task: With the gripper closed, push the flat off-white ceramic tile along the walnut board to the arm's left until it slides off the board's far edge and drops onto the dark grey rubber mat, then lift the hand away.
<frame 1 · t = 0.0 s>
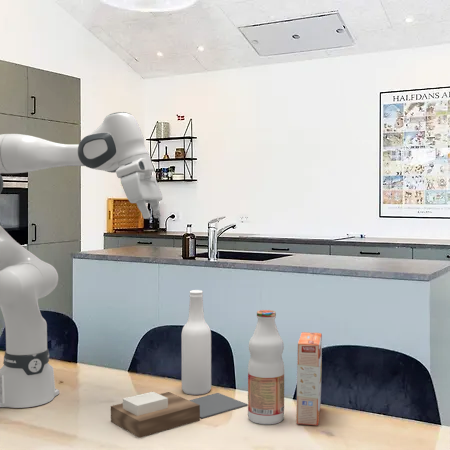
hand: (153, 217, 161), 52 cm above the table, tool tilted 20°, fingers open, 8 cm apart
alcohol: (196, 391, 177), on the table
board: (155, 420, 153), on the table
mat: (210, 405, 164), on the table
fruit juice: (266, 419, 154), on the table
tile: (145, 408, 151), point 4 cm above the table, touching board
cracker box: (309, 417, 156), on the table
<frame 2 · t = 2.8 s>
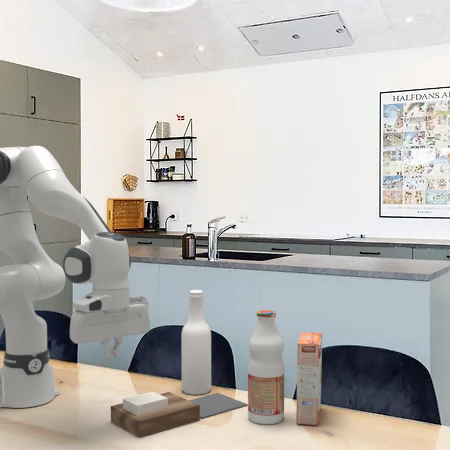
hand: (111, 356, 144), 19 cm above the table, tool pointing down, fingers closed
nothing on the table moved.
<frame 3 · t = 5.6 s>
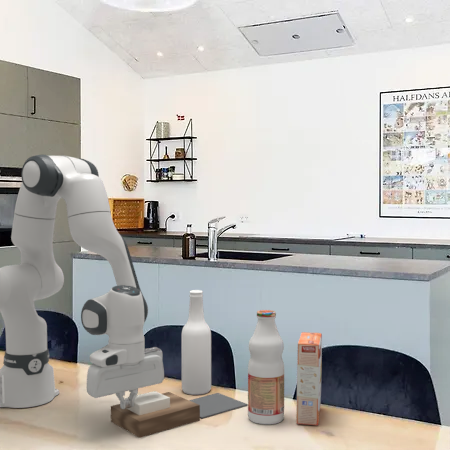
hand: (127, 407, 147), 5 cm above the table, tool pointing down, fingers closed
tile: (147, 407, 151), point 4 cm above the table, touching board, gripper
everything else where it was.
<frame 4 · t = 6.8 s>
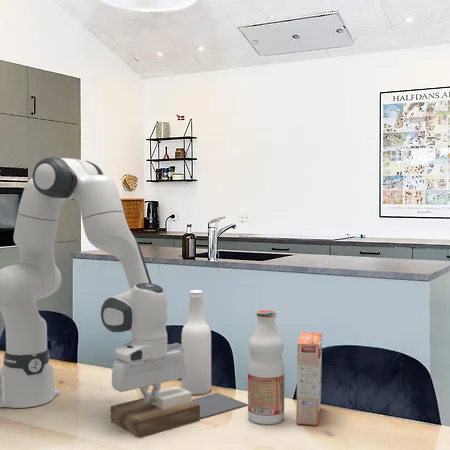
hand: (150, 401, 151), 5 cm above the table, tool pointing down, fingers closed
tile: (169, 402, 155), point 4 cm above the table, touching board, gripper
everything else where it was.
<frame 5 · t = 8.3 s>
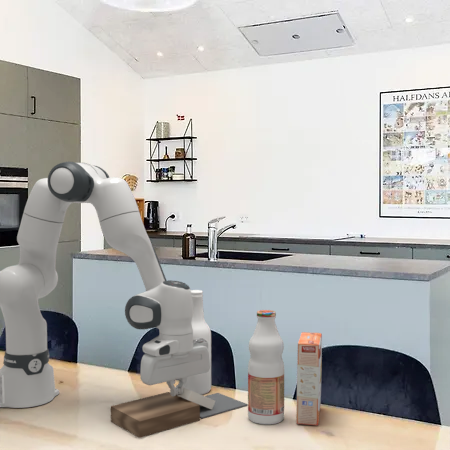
hand: (176, 395, 157), 5 cm above the table, tool pointing down, fingers closed
tile: (192, 401, 160), point 3 cm above the table, tilted 28°, touching board, mat
everything else where it was.
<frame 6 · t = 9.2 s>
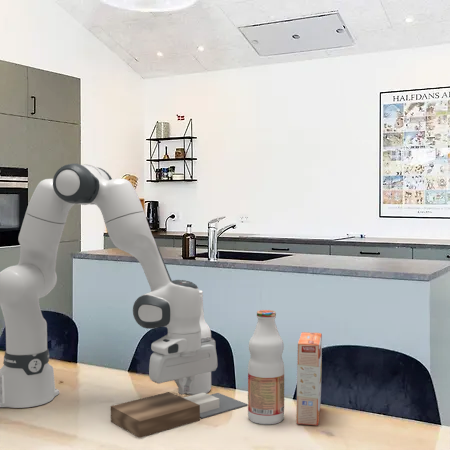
hand: (184, 393, 158), 5 cm above the table, tool pointing down, fingers closed
tile: (198, 408, 161), resting on mat
everything else where it was.
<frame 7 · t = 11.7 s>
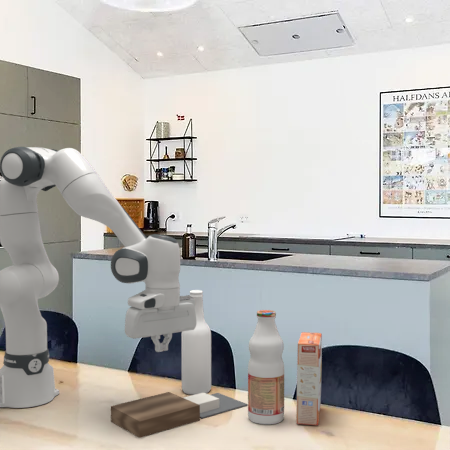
hand: (161, 351, 154), 18 cm above the table, tool pointing down, fingers closed
nothing on the table moved.
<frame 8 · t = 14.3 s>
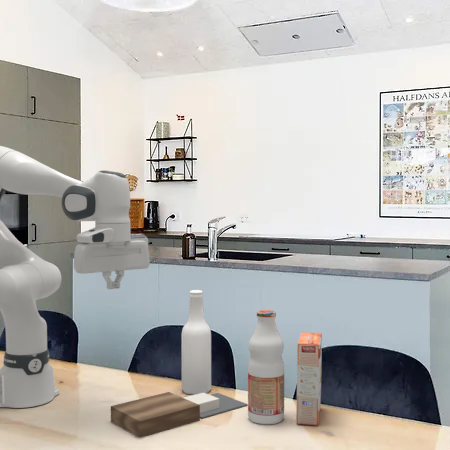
hand: (113, 288, 152), 34 cm above the table, tool pointing down, fingers closed
nothing on the table moved.
at the end: tile inside the target area on the mat (4.3 cm from its centre), point 0.4 cm above the mat's base; tile resting on mat; tile touching mat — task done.
